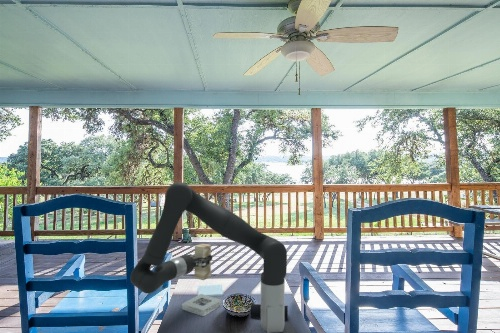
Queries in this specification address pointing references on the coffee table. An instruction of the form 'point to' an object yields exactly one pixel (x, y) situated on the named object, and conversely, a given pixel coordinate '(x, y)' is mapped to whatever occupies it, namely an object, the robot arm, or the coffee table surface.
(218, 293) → the pale blue plate
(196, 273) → the maple peg
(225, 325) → the coffee table surface
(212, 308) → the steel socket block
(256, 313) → the pipe connector
